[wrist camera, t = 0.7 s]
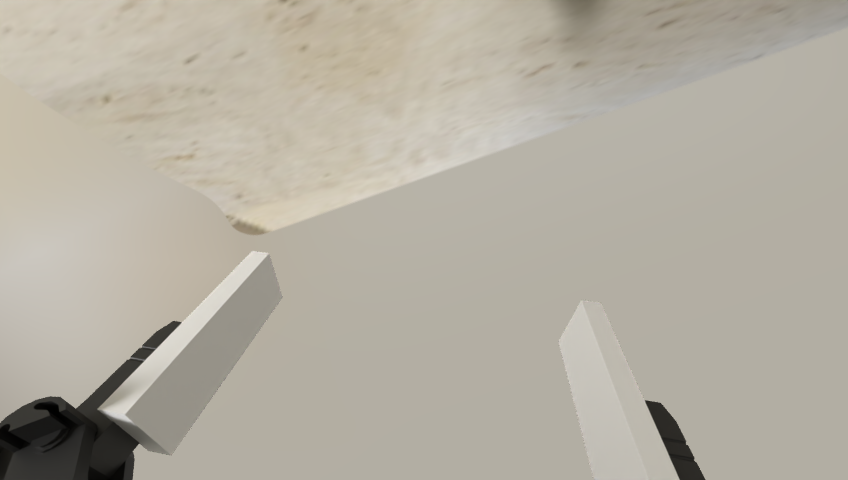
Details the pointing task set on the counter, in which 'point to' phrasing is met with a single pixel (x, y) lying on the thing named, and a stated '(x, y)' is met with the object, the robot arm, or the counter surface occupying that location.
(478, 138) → the counter surface
